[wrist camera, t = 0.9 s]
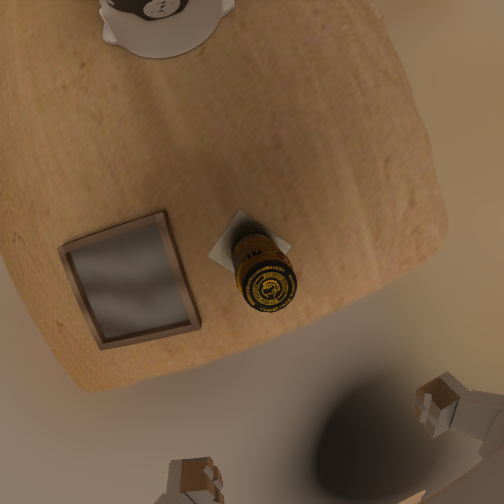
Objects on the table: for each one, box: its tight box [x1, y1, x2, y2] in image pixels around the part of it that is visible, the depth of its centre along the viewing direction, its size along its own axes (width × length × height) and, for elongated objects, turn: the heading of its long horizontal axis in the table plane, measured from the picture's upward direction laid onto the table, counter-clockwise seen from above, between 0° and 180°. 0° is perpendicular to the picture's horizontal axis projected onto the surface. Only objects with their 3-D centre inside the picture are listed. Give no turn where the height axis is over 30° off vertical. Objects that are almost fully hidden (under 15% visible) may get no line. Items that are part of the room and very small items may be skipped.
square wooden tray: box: [57, 210, 202, 350], centre depth 36 cm, size 16×16×2 cm
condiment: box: [208, 210, 297, 313], centre depth 32 cm, size 7×8×12 cm
